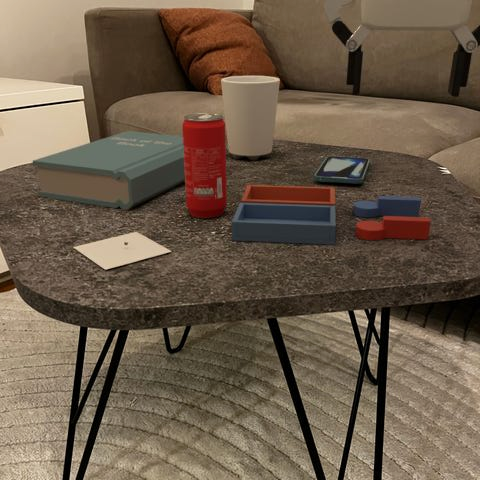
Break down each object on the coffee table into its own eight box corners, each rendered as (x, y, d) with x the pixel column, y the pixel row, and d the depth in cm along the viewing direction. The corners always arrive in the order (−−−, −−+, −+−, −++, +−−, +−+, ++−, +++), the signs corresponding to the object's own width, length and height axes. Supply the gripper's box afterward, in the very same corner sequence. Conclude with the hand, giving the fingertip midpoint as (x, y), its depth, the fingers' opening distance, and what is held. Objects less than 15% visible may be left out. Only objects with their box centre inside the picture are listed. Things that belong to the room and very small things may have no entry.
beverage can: (180, 216, 75) (174, 118, 70) (197, 205, 80) (193, 112, 74) (217, 221, 74) (214, 121, 68) (232, 209, 78) (231, 114, 72)
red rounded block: (425, 232, 70) (427, 214, 69) (429, 242, 67) (432, 224, 66) (354, 229, 71) (356, 212, 70) (356, 239, 68) (357, 221, 67)
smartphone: (370, 158, 99) (363, 179, 86) (370, 164, 99) (362, 186, 86) (326, 155, 101) (312, 176, 88) (326, 161, 101) (312, 182, 88)
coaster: (72, 247, 66) (71, 240, 66) (136, 231, 70) (135, 225, 70) (105, 269, 60) (104, 262, 60) (171, 251, 65) (171, 244, 64)
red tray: (333, 204, 80) (334, 187, 79) (333, 221, 73) (335, 203, 72) (247, 201, 81) (247, 184, 80) (240, 218, 75) (240, 200, 74)
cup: (267, 164, 99) (269, 83, 93) (213, 160, 102) (211, 81, 96) (285, 152, 107) (287, 76, 101) (234, 148, 110) (233, 74, 104)
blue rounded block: (416, 211, 77) (418, 194, 76) (419, 219, 74) (422, 202, 73) (352, 209, 78) (353, 192, 77) (353, 217, 75) (354, 200, 74)
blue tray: (334, 223, 73) (335, 205, 72) (334, 245, 66) (336, 225, 65) (239, 220, 74) (239, 202, 73) (231, 240, 68) (231, 221, 67)
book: (129, 161, 102) (127, 131, 99) (212, 170, 96) (211, 138, 93) (38, 196, 84) (32, 160, 81) (133, 210, 78) (129, 172, 75)
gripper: (523, -109, 54) (486, 90, 62) (331, -103, 57) (321, 87, 65) (544, -124, 47) (500, 101, 55) (326, -116, 50) (315, 97, 58)
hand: (403, 93), depth 60 cm, fingers open, 9 cm apart
